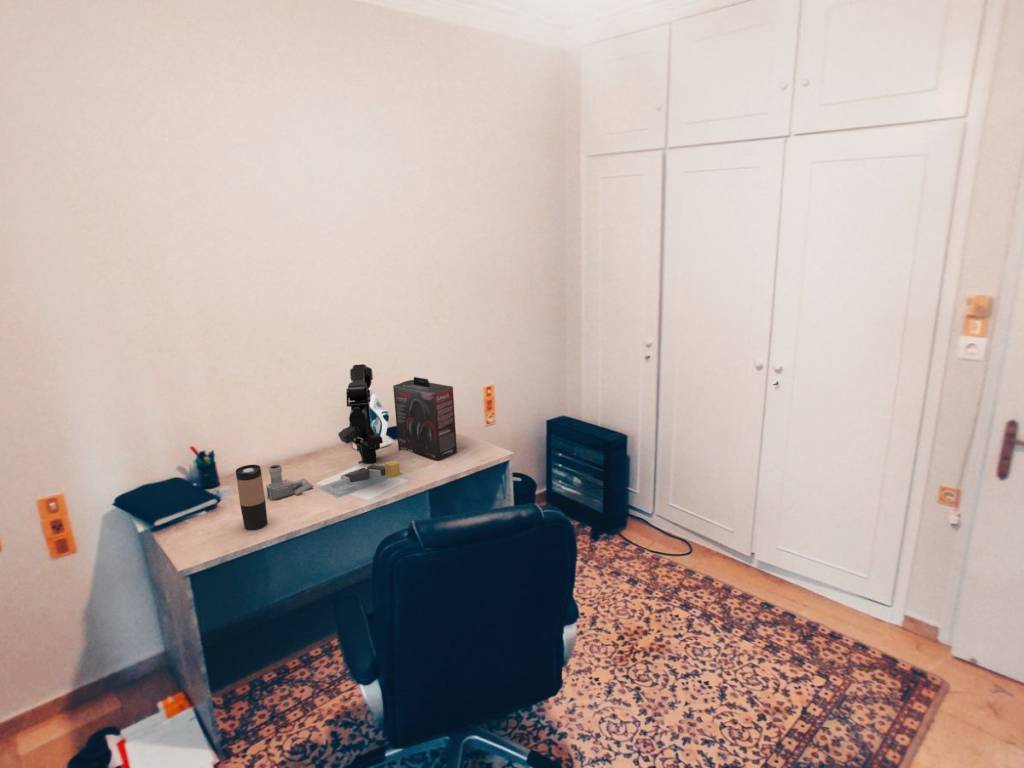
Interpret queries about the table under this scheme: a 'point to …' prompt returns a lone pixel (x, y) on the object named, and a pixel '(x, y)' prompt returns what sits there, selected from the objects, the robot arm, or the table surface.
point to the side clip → (347, 479)
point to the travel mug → (251, 497)
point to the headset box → (425, 418)
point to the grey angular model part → (284, 484)
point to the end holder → (343, 491)
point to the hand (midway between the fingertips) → (363, 458)
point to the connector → (392, 469)
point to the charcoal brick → (358, 475)
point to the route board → (375, 478)
